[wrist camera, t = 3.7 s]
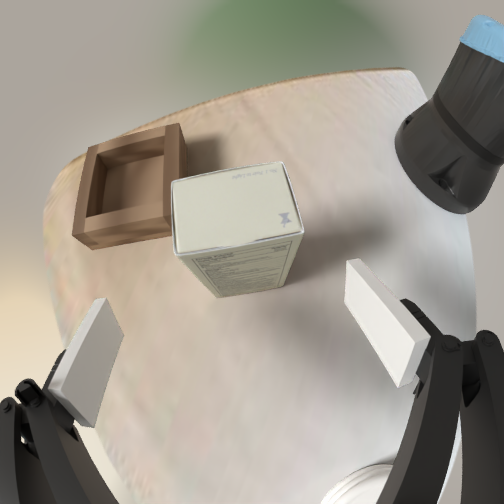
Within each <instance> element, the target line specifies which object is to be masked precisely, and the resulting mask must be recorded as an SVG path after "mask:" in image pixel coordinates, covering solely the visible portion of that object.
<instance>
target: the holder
mask: <svg viewBox="0 0 504 504" xmlns="http://www.w3.org/2000/svg"><path fill="white" fill-rule="evenodd" d="M186 177H187V147H186V144H185V140H184V137H183V134H182V130H181V127H180V124H179V123H176V124H172V125H167V126H162V127H158V128H154V129H150V130H146V131H142V132H138V133H134V134H130V135H127V136H123V137H120V138H116V139H113V140H110V141H107V142H103V143H100V144H98V145H94V146H91V147H88V151H87V155H86V159H85V163H84V167H83V172H82V176H81V181H80V186H79V191H78V197H77V203H76V209H75V216H74V223H73V231H72V236H73V237H75V238H76V239H78V240H79V241H80V242H82V243H83V244H84V245H86V246H87V247H89V248H90V249H91V250H95V249H100V248H106V247H111V246H116V245H122V244H127V243H133V242H138V241H144V240H150V239H156V238H161V237H167V236H173V235H172V214H171V182H172V181H174V180H178V179H182V178H186Z"/></svg>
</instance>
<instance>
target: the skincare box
mask: <svg viewBox="0 0 504 504" xmlns="http://www.w3.org/2000/svg"><path fill="white" fill-rule="evenodd" d="M171 214H172V235H173V248H174V254H175V255H176V256H177V257H178V258H179V259H180V260H181V261H182V263H183V264H184V265H185V266H186V267H187V268H188V269H189V270H190V271H191V272H192V273H193V274H194V275H195V277H196V278H197V279H198V280H199V281H200V282H201V283H202V284H203V285H204V286H205V287H206V288H207V289H208V290H209V291H210V292H211V293H212V294H213V295H214V296H215V297H216V298H220V297H227V296H234V295H240V294H246V293H252V292H258V291H263V290H268V289H273V288H278V287H282V286H283V285H284V283H285V280H286V278H287V275H288V273H289V270H290V268H291V265H292V263H293V261H294V258H295V255H296V253H297V250H298V248H299V245H300V243H301V240H302V238H303V236H304V233H305V231H304V227H303V223H302V219H301V216H300V212H299V208H298V204H297V201H296V197H295V194H294V191H293V187H292V184H291V181H290V178H289V175H288V173H287V170H286V167H285V164H284V163H283V162H269V163H261V164H255V165H247V166H241V167H235V168H229V169H225V170H218V171H214V172H209V173H204V174H200V175H195V176H191V177H186V178H182V179H178V180H174V181H172V182H171Z"/></svg>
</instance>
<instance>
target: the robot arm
mask: <svg viewBox="0 0 504 504" xmlns="http://www.w3.org/2000/svg"><path fill="white" fill-rule="evenodd" d="M460 41H461V42H460V44H459V47H458V49H457V51H456V53H455V55H454V57H453V59H452V61H451V63H450V65H449V67H448V69H447V71H446V73H445V75H444V76H443V78H442V80H441V82H440V84H439V86H438V88H437V90H436V92H435V94H434V95H433V97H432V98H431V99H430V100H429V101H427V102H426V103H425V104H423V105H422V106H421V107H419V108H418V109H417V110H416V111H414V112H413V113H412V114H411V115H409V116H408V117H407V118H406V119H405V120H404V121H403V122H402V124H401V126H400V128H399V129H398V131H397V133H396V136H395V148H396V153H397V156H398V158H399V161H400V163H401V165H402V167H403V169H404V170H405V172H406V173H407V175H408V176H409V178H410V179H411V180H412V182H413V183H414V184H415V185H416V187H417V188H418V189H419V190H420V191H421V192H422V193H423V194H424V195H425V196H426V197H428V198H429V199H430V200H431V201H433V202H434V203H435V204H437V205H438V206H440V207H442V208H443V209H445V210H448V211H450V212H453V213H458V214H466V213H469V212H471V211H473V210H474V209H475V208H477V207H478V206H479V205H480V204H481V203H482V202H483V201H484V200H485V198H486V196H487V194H488V192H489V190H490V188H491V186H492V184H493V182H494V180H495V178H496V176H497V173H498V171H499V169H500V167H501V166H502V165H503V164H504V25H502V24H501V23H499V22H498V21H496V20H494V19H492V18H490V17H488V16H485V15H477V16H475V17H474V18H473V19H472V20H471V22H470V24H469V26H468V28H467V30H466V31H465V33H464V35H463V36H461V37H460ZM344 303H345V304H346V306H347V307H348V309H349V310H350V312H351V314H352V315H353V317H354V318H355V320H356V321H357V323H358V324H359V326H360V327H361V329H362V331H363V332H364V334H365V335H366V337H367V338H368V340H369V342H370V343H371V345H372V346H373V348H374V350H375V351H376V353H377V355H378V356H379V358H380V359H381V361H382V363H383V364H384V366H385V368H386V369H387V371H388V373H389V374H390V376H391V378H392V379H393V381H394V383H395V384H396V386H397V388H399V387H402V386H404V385H406V384H409V383H411V382H412V381H413V379H414V377H415V374H417V375H418V377H419V378H420V380H419V382H418V384H417V386H416V388H415V390H414V392H413V394H415V393H416V394H415V398H414V402H413V406H412V410H411V413H410V417H409V420H408V424H407V427H406V430H405V433H404V436H403V439H402V442H401V445H400V448H399V451H398V454H397V456H396V459H395V462H394V464H393V467H392V469H391V472H390V474H389V476H388V479H387V481H386V483H385V485H384V488H383V490H382V492H381V494H380V496H379V498H378V500H377V502H376V504H437V501H438V499H439V496H440V493H441V490H442V487H443V484H444V480H445V477H446V474H447V470H448V466H449V462H450V458H451V454H452V450H453V445H454V440H455V435H456V429H457V423H458V417H459V411H460V420H461V433H462V454H463V455H462V459H463V464H462V466H463V467H462V470H463V471H462V492H461V504H504V352H503V349H502V346H501V343H500V341H499V339H498V337H497V335H495V334H494V333H493V332H491V331H488V330H482V331H479V332H478V333H477V335H476V337H475V339H474V340H471V341H464V342H461V341H460V340H459V339H458V338H456V337H454V336H451V335H443V334H442V333H441V332H440V330H439V329H438V328H437V327H436V326H435V325H434V324H433V323H432V322H431V320H430V319H429V318H428V317H426V315H425V314H424V313H423V312H422V311H421V310H420V308H419V307H418V306H417V305H416V304H415V303H413V302H411V301H410V300H408V299H402V300H399V299H398V298H397V297H396V296H395V295H394V294H393V293H392V292H391V291H390V290H389V289H388V288H387V286H386V285H385V284H384V283H383V282H382V281H381V280H380V279H379V278H378V277H377V276H376V275H375V274H374V273H373V272H372V271H371V270H370V269H369V267H368V266H367V265H366V264H365V263H364V262H363V261H362V260H361V259H360V258H357V259H351V260H347V263H346V283H345V298H344ZM123 337H124V334H123V332H122V330H121V328H120V326H119V324H118V322H117V320H116V318H115V315H114V313H113V311H112V309H111V306H110V304H109V302H108V300H107V298H99V299H95V301H94V302H93V304H92V306H91V307H90V309H89V311H88V312H87V314H86V316H85V318H84V319H83V321H82V323H81V324H80V326H79V328H78V330H77V332H76V333H75V335H74V337H73V339H72V341H71V342H70V344H69V346H68V348H67V349H65V350H64V351H63V352H62V353H61V354H60V355H59V356H58V358H57V360H56V362H55V365H54V366H53V368H52V371H51V372H50V374H49V376H48V378H47V380H46V382H45V384H44V386H43V388H42V390H41V389H40V387H39V386H38V385H37V384H36V383H35V381H34V380H32V379H25V380H23V381H22V382H20V383H19V385H18V386H17V387H16V390H15V396H16V397H17V398H18V399H19V400H20V402H21V404H18V403H17V402H16V401H15V400H14V399H13V398H12V397H7V398H5V399H3V400H2V401H1V403H0V504H119V503H118V501H117V500H116V499H115V497H114V496H113V494H112V493H111V491H110V490H109V488H108V486H107V485H106V483H105V481H104V480H103V478H102V476H101V475H100V473H99V471H98V470H97V468H96V466H95V464H94V463H93V461H92V459H91V457H90V455H89V453H88V451H87V449H86V447H85V446H84V443H83V441H82V439H81V437H80V435H79V433H78V430H77V429H76V427H75V426H74V425H73V423H74V420H76V421H77V422H78V423H79V424H80V425H81V426H85V427H92V428H94V427H95V424H96V420H97V416H98V413H99V409H100V406H101V402H102V399H103V396H104V393H105V389H106V386H107V383H108V380H109V377H110V374H111V371H112V368H113V365H114V362H115V359H116V356H117V353H118V351H119V348H120V345H121V342H122V340H123ZM21 437H23V438H24V439H25V443H22V442H21Z"/></svg>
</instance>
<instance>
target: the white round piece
mask: <svg viewBox="0 0 504 504" xmlns="http://www.w3.org/2000/svg"><path fill="white" fill-rule="evenodd" d="M392 467H393V465H389V464H380V465H373V466H369V467H366V468H363V469H361V470H358V471H356V472H354V473H352V474H350V475H349V476H347V477H345V478H344V479H343V480H341V481H340V482H339V483H337V484H336V485H335V486H334V487H333V488H332V489H331V490H330V491H329V492H328V493H327V494H326V495H325V497H324V498H323V500H322V502H321V504H376V502H377V500H378V498H379V496H380V494H381V492H382V490H383V488H384V485H385V483H386V481H387V479H388V476H389V474H390V472H391V469H392Z"/></svg>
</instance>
